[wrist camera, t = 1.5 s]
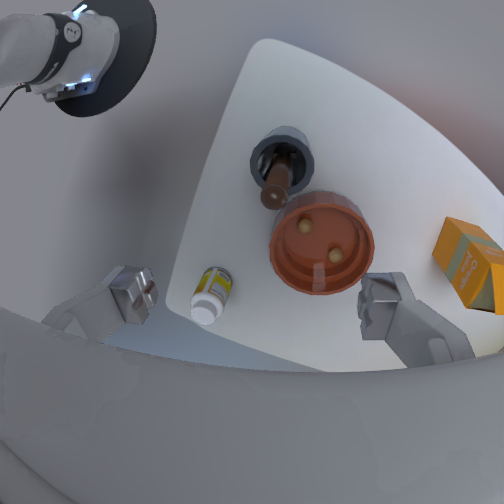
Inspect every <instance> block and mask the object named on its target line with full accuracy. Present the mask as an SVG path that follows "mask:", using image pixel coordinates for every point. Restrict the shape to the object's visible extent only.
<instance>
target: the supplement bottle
mask: <svg viewBox="0 0 504 504" xmlns="http://www.w3.org/2000/svg"><path fill="white" fill-rule="evenodd" d="M231 286H232V278H231V276H230V274H229V273H228V272H227V271H225V270H223V269H221V268H210V269H208V270H207V271H206V272H205V273H204V275H203V277H202V279H201V281H200V283H199V285H198V287H197V289H196V291H195V293H194V295H193V297H192V299H191V307H192V310H191V316H192V318H193V319H194V320H195V321H196V322H197V323H199V324H202V325H210V324H212V323H213V322H214V320H215V318H217V317H219V316H220V315H221V314H222V312H223V310H224V307H225V304H226V301H227V298H228V295H229V292H230V289H231Z"/></svg>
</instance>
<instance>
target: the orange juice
mask: <svg viewBox="0 0 504 504" xmlns="http://www.w3.org/2000/svg"><path fill="white" fill-rule="evenodd" d="M432 255H433V256H434V257H435V259H436V260H437V262H438V263H439V265H440V266H441V268H442V270H443V271H444V273H445V275H446V276H447V278H448V280H449V281H450V283H451V284H452V285H453V287H454V289H455V290H456V292H457V294H458V296H459V297H460V299H461V301H462V302H463V304H464V306H465V308H466V309H476V310H481V311H486V312H492V313H495V315H504V251H503V250H502V248H501V247H500V246H499V245H498V244H497V243H496V242H494V241H493V240H492V238H491V237H490V236H489V235H487V234H486V233H485V232H484V231H483V230H482V229H481V228H480V227H479V226H476V225H473V224H470V223H467V222H463V221H460V220H457V219H454V218H450V217H446V220H445V223H444V225H443V228H442V231H441V233H440V236H439V239H438V241H437V244H436V246H435V249H434V251H433V254H432Z"/></svg>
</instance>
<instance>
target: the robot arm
mask: <svg viewBox="0 0 504 504" xmlns="http://www.w3.org/2000/svg"><path fill="white" fill-rule="evenodd" d="M86 7H87V5H83V6H81V7H80V8H79V9H77V10H76V11H75V12H64V13H63V14H59V13H47V14H44V15H32V14H13V15H9V16H7V17H5V18H3V19H1V20H0V88H2V87H6V86H10V85H14V84H17V85H18V84H19V83H20V85H21V84H22V83H24V84H25V85H21V86H18V87H17V88H15V89H14V90H13V91H12V92H11V93H10V95H9V96H8V98H7V99H6V100H5V102H4V103H3V104H2V106H1V107H0V111H1V109H2V108H3V106H4V105H5V104H6V103H7V101H8V100H9V98H10V97H11V96H12V94H13V93H14V92H15V91H16V90H18V89H20V88H24V87H26V92H31V91H32V92H33V93H34V94H42V95H43V98H44V100H45V101H46V102H47V103H49V102H55V101H59V100H63V99H68V98H73V97H78V96H83V95H89V94H93V93H95V92H96V90H97V88H98V86H99V83H100V80H101V78H102V76H103V75H104V74H105V72H106V71H107V70H108V68H109V67H110V66H111V64H112V62H113V60H114V58H115V56H116V54H117V51H118V47H119V42H120V32H119V28H118V25H117V23H116V22H115V21H114V20H113V19H112V18H110V17H108V16H101V15H99V14H98V13H97V12H96V11H94V10H88V11H86V12H85V13H80V11H82V10H83V9H84V8H86ZM152 277H153V275H152V272H151V270H150V268H148V267H142V266H127V265H118V266H116V267H115V268H114V269H113V270H112V271H111V272H110V273H109V274H108V276H107V277H106V278H105V279H104V280H103V281H102V282H101V283H100V284H99V286H94V287H92V288H91V289H88V290H86V291H85V292H83V293H81V294H79V295H77V296H75V297H73V298H71V299H69V300H67V301H65V302H63V303H61V304H60V305H57V306H55V307H54V308H53V309H52V310H51V311H50V312H49V314H48V315H47V316H46V317H45V318H44V319H43V320H42V322H41V323H38V322H36V321H33V320H30V319H28V318H25V317H23V316H20V315H18V314H16V313H13V312H11V311H9V310H6V309H4V308H2V307H0V504H504V351H502V352H498V353H494V354H490V355H485V356H481V357H475V354H474V352H473V350H472V347H471V345H470V343H469V341H468V338H467V336H466V334H465V333H464V332H463V331H461V330H460V329H459V328H457V327H456V326H455V325H453V324H452V323H451V322H449V321H448V320H447V319H445V318H444V317H443V316H441V315H440V314H438V313H437V312H436V311H434V310H433V309H432V308H430V307H429V306H427V305H426V304H425V303H423V302H422V301H420V300H416V299H415V296H414V294H413V292H412V290H411V288H410V286H409V284H408V281H407V279H406V277H405V275H404V273H402V272H389V273H363V276H362V280H361V285H362V290H361V291H360V292H359V296H358V305H357V309H358V317H359V318H360V319H361V320H362V321H361V325H360V328H361V334H362V339H363V340H385V342H386V343H387V344H388V345H389V346H390V348H391V349H392V350H393V351H394V352H395V353H396V355H397V356H398V357H399V358H400V359H401V360H402V362H403V363H404V364H405V365H406V366H407V367H408V368H405V369H394V370H381V371H365V372H325V373H321V372H286V371H268V370H255V369H243V368H234V367H224V366H217V365H208V364H202V363H195V362H188V361H182V360H176V359H171V358H165V357H160V356H154V355H150V354H145V353H141V352H136V351H132V350H127V349H123V348H119V347H115V346H111V345H107V344H104V343H101V342H102V341H103V340H105V339H106V338H108V337H109V336H110V335H112V334H113V333H114V332H115V331H117V330H118V329H119V328H120V327H122V326H123V325H125V323H131V324H138V325H143V323H144V322H145V320H146V318H147V317H148V315H149V312H148V310H149V309H151V308H152V307H154V305H155V304H156V301H157V297H158V291H157V287H156V285H155V284H154V282H153V281H152V280H151V279H152Z"/></svg>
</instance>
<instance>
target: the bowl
mask: <svg viewBox="0 0 504 504" xmlns="http://www.w3.org/2000/svg"><path fill="white" fill-rule="evenodd" d="M303 218H307V219H310V220H311V221H312V223H313V230H312V231H311V232H310V233H309V234H302V233H300V232H299V230H298V228H297V225H298V222H299V221H300V220H301V219H303ZM333 248H339V249H340V250H341V251H342V252H343V259H342V260H341V261H340V262H339V263H333V262H331V261H330V259H329V256H328V255H329V252H330V250H331V249H333ZM269 249H270V261H271V263H272V266H273V268H274V270H275V273H276V274H277V275H278V276H279V277H280V278H281V279H282V281H283V282H284V283H285V284H287V285H288V286H290V287H292V288H293V289H295V290H297V291H299V292H303V293H307V294H310V295H330V294H334V293H338V292H341V291H344V290H346V289H348V288H349V287H351V286H353V285H355V284H356V283H357V282H358V281H359V280H360V279H361V278H362V276H363V273H366V272H367V270H368V268H369V267H370V265H371V263H372V260H373V255H374V249H375V246H374V240H373V235H372V232H371V230H370V228H369V226H368V224H367V222H366V220H365V218H364V216H363V214H362V213H361V211H360V210H359V208H358V207H357V206H356V205H355V204H354V203H352V202H351V201H350V200H349V199H347V198H346V197H344V196H341V195H338V194H335V193H332V192H311V193H307V194H304V195H301V196H298V197H296V198H295V199H294V200H292V201H291V202H289V203H288V204H286V205H285V206H284V208H283V209H282V210H281V212H280V213H279V214H278V216H277V217H276V221H275V224H274V227H273V230H272V235H271V240H270V245H269Z"/></svg>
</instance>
